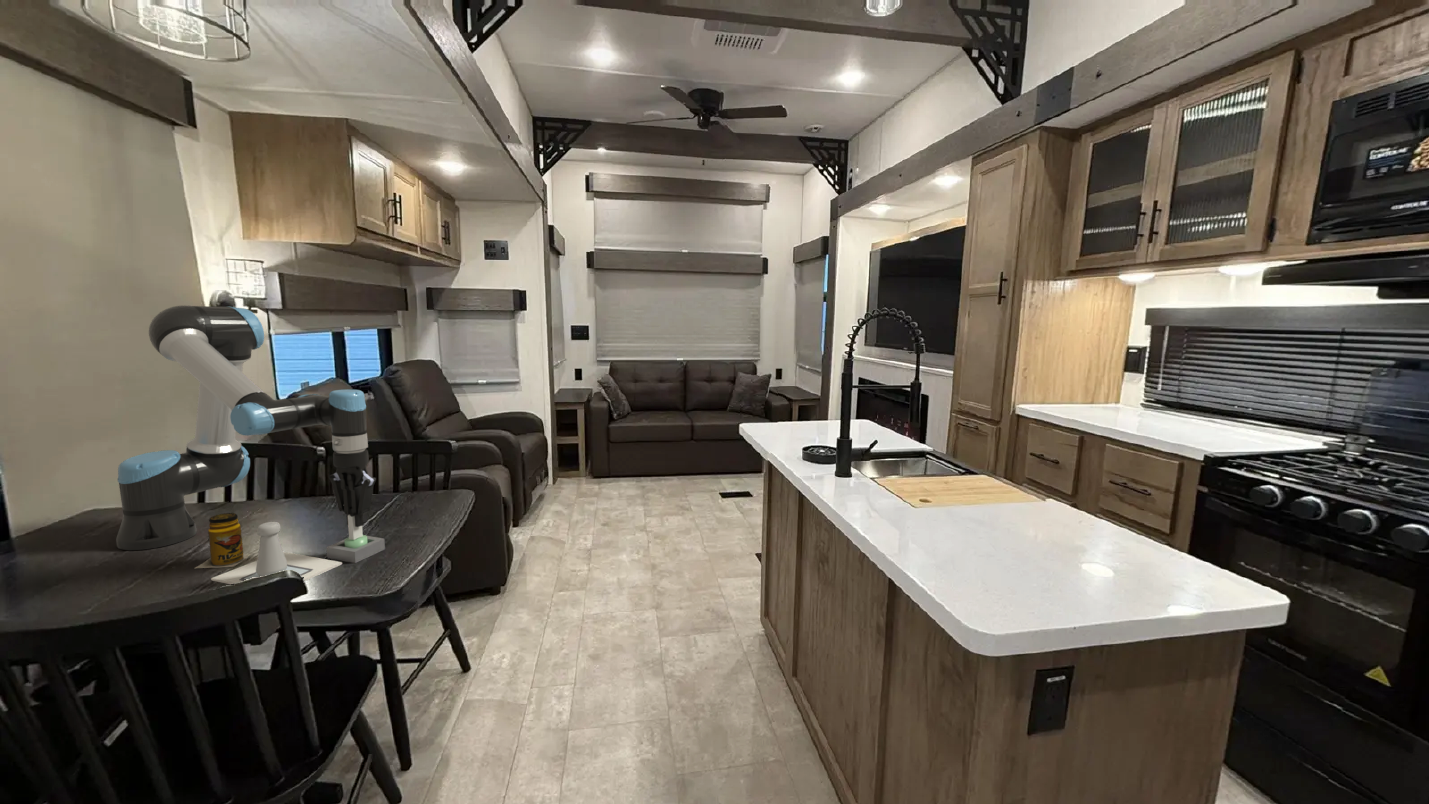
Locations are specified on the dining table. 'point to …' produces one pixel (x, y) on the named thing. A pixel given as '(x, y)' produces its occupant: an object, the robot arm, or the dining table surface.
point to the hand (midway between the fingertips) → (356, 537)
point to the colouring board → (296, 562)
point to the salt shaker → (270, 550)
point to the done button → (356, 542)
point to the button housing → (355, 550)
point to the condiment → (224, 542)
